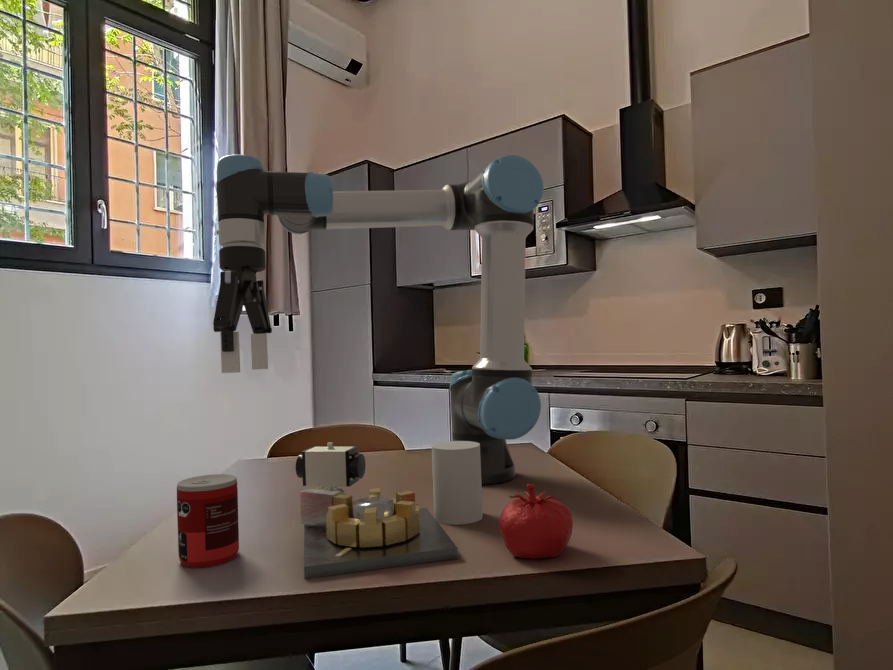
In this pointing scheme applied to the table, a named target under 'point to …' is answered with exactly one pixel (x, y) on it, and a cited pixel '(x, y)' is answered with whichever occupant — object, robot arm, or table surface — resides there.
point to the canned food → (207, 520)
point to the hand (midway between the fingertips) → (246, 371)
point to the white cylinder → (457, 482)
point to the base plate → (344, 559)
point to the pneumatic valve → (330, 467)
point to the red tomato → (535, 525)
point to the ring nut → (357, 532)
